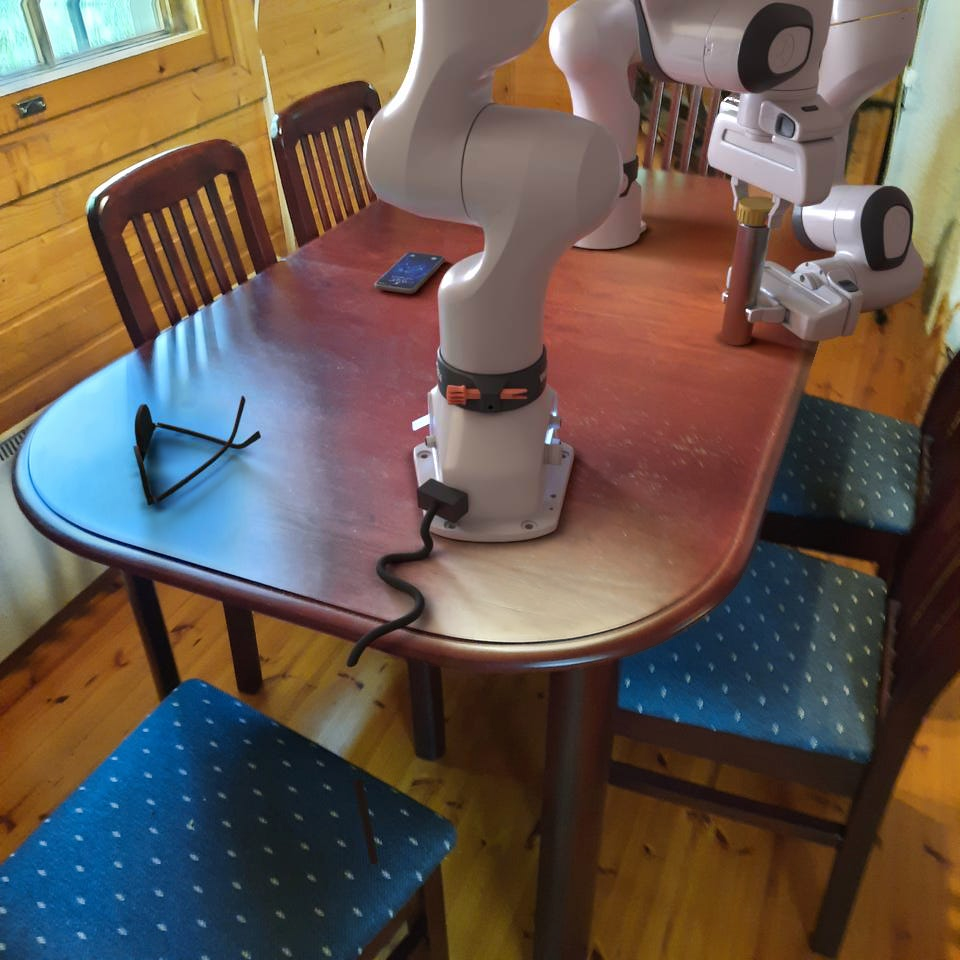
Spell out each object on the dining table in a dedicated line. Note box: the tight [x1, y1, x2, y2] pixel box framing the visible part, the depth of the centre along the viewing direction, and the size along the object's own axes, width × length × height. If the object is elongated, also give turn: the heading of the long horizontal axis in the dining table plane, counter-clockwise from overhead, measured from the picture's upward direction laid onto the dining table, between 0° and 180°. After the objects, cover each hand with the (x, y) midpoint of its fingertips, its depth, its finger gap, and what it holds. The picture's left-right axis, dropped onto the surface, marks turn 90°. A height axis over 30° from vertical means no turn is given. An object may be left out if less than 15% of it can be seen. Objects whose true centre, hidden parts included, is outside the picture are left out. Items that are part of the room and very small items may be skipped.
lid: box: [735, 196, 775, 226], centre depth 112 cm, size 5×5×2 cm
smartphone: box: [373, 251, 446, 295], centre depth 143 cm, size 7×1×15 cm
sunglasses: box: [132, 395, 262, 506], centre depth 100 cm, size 17×14×5 cm
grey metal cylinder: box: [720, 221, 772, 347], centre depth 117 cm, size 4×4×19 cm
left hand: (756, 219), depth 113 cm, fingers closed on lid, 5 cm apart
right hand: (735, 307), depth 120 cm, fingers closed on grey metal cylinder, 4 cm apart
